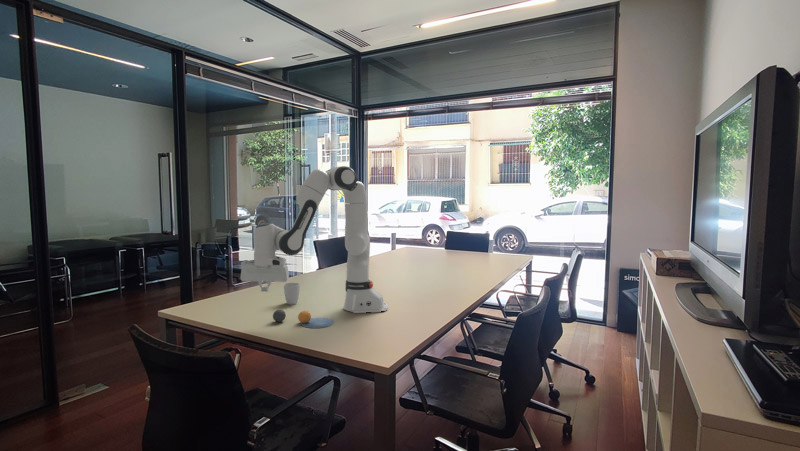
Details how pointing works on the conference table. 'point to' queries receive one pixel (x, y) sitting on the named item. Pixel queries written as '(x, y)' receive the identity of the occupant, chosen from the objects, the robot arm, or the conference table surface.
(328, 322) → the blue mark
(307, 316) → the orange ball
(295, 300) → the cup
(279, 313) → the dark gray ball
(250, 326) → the conference table surface
